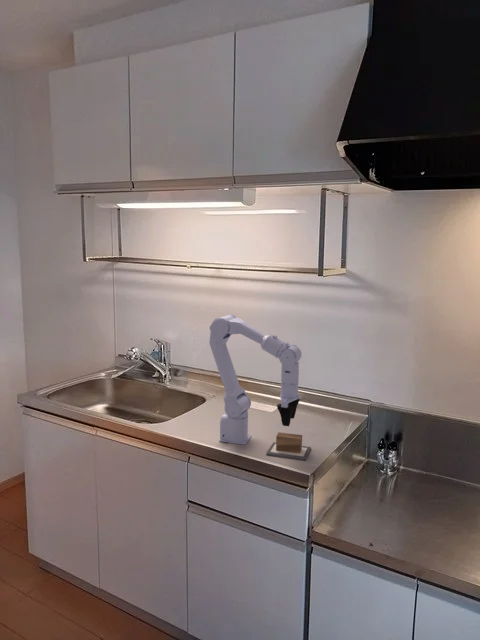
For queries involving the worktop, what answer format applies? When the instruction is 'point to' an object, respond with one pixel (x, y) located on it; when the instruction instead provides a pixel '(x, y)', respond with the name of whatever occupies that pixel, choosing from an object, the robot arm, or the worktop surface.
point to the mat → (289, 453)
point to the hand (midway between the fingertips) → (288, 421)
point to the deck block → (289, 442)
